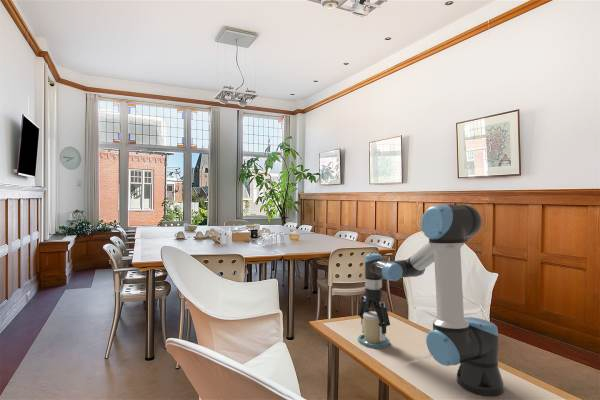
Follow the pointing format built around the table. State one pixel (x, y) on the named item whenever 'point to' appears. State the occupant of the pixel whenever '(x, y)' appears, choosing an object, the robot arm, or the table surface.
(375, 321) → the coffee cup
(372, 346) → the saucer
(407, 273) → the robot arm
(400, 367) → the table surface
